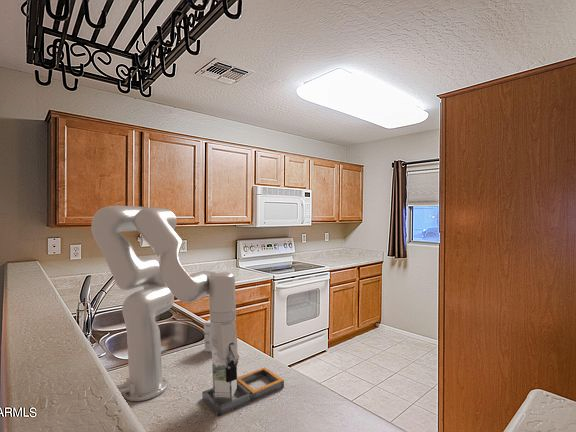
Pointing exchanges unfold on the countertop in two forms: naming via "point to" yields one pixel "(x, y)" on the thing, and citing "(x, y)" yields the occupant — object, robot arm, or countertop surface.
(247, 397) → the grey flat frame
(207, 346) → the ink box
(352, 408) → the countertop surface
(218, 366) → the syrup box
